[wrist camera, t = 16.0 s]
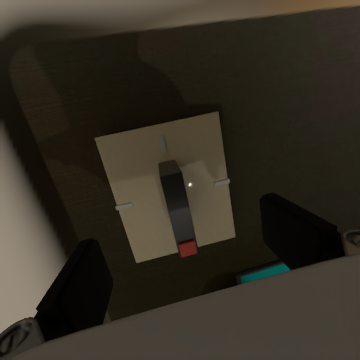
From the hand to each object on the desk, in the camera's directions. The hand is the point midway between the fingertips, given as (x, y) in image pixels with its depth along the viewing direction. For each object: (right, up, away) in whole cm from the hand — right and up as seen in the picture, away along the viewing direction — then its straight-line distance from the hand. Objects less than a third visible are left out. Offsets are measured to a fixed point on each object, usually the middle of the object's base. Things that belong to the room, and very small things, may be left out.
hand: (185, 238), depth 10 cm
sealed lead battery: (-1, +2, +6) cm, 6 cm away
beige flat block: (-1, +3, +9) cm, 9 cm away
